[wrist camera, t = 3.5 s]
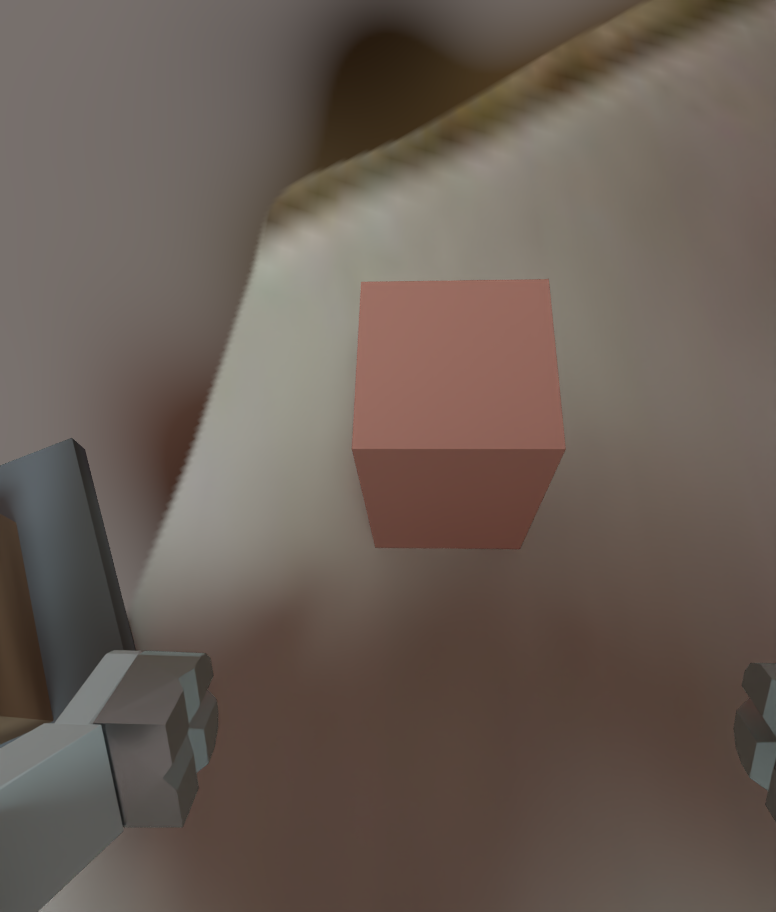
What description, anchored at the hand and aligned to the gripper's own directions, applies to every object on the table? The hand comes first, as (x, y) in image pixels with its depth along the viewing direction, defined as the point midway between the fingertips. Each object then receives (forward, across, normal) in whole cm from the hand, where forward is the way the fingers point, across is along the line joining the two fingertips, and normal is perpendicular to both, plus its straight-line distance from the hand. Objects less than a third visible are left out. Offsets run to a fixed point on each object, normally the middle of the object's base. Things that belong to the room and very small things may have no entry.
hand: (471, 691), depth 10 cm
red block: (+14, 0, +2) cm, 14 cm away
